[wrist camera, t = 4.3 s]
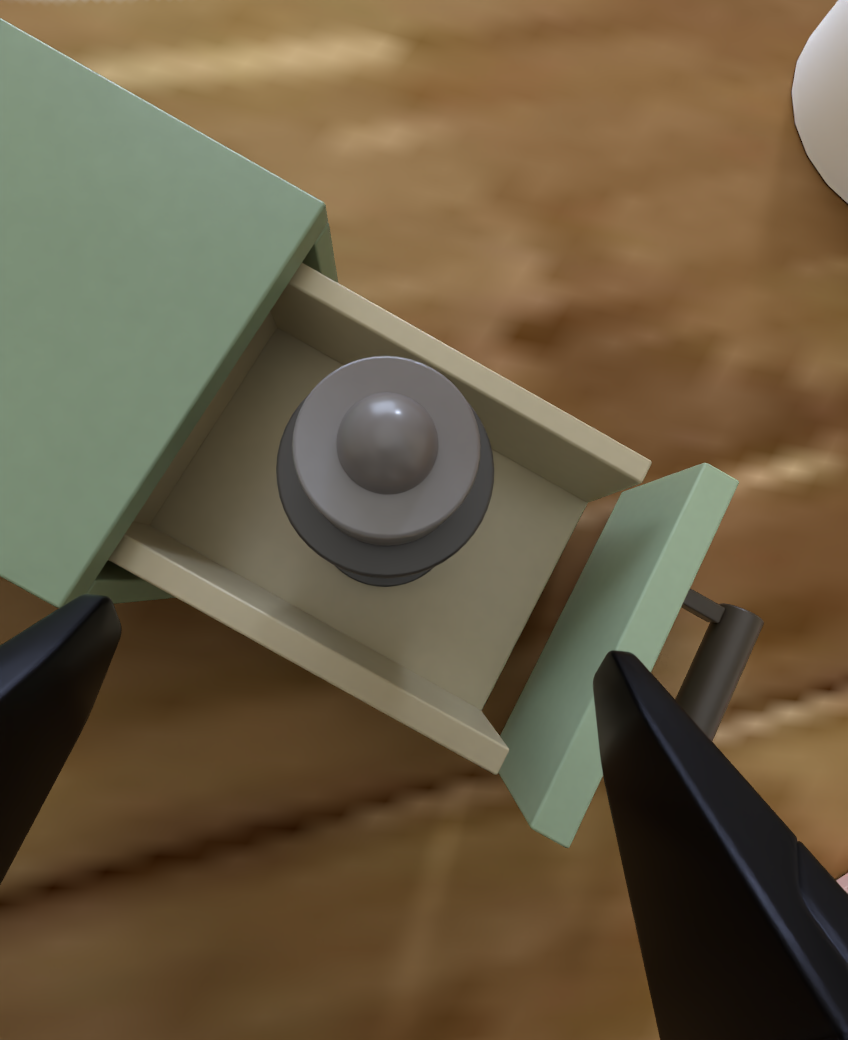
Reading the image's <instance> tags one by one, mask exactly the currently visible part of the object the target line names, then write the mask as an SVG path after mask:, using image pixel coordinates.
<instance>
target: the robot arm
mask: <svg viewBox="0 0 848 1040" xmlns="http://www.w3.org/2000/svg"><path fill="white" fill-rule="evenodd" d="M120 637H121V624H120V621H119V618H118V616H117V613H116V610H115V607H114V605H113V602H112V600H111V599H110V598H109V597H108V596H103V595H94V594H84V595H81V596H78V597H77V598H75V599H73V600H72V601H70V602H69V603H67V604H66V605H64V606H62V607H61V608H59V609H58V610H56V611H54V612H53V613H51V614H50V615H48V616H46V617H45V618H43V619H42V620H40V621H38V622H37V623H35V624H34V625H32V626H31V627H29V628H27V629H26V630H24V631H23V632H21V633H19V634H18V635H16V636H15V637H13V638H11V639H10V640H8V641H7V642H5V643H3V644H2V645H0V884H1V882H2V881H3V879H4V877H5V875H6V873H7V871H8V869H9V867H10V865H11V864H12V862H13V860H14V858H15V856H16V854H17V852H18V850H19V849H20V847H21V845H22V843H23V841H24V839H25V837H26V835H27V833H28V832H29V830H30V828H31V826H32V824H33V822H34V820H35V818H36V816H37V815H38V813H39V811H40V809H41V807H42V805H43V803H44V801H45V799H46V798H47V796H48V794H49V792H50V790H51V788H52V786H53V784H54V783H55V781H56V779H57V777H58V775H59V773H60V771H61V769H62V767H63V766H64V764H65V762H66V760H67V758H68V756H69V754H70V752H71V750H72V749H73V747H74V745H75V743H76V741H77V739H78V737H79V735H80V733H81V731H82V729H83V727H84V725H85V723H86V721H87V719H88V717H89V715H90V712H91V710H92V708H93V705H94V703H95V700H96V698H97V695H98V693H99V690H100V688H101V685H102V683H103V680H104V678H105V675H106V673H107V670H108V668H109V665H110V663H111V660H112V658H113V655H114V653H115V650H116V648H117V645H118V643H119V640H120ZM593 694H594V703H595V712H596V722H597V731H598V741H599V750H600V758H601V766H602V771H603V777H604V782H605V786H606V791H607V796H608V800H609V805H610V810H611V814H612V819H613V823H614V828H615V833H616V837H617V842H618V846H619V851H620V856H621V860H622V865H623V870H624V874H625V879H626V883H627V888H628V893H629V897H630V902H631V907H632V911H633V916H634V920H635V925H636V930H637V934H638V939H639V944H640V948H641V953H642V957H643V962H644V967H645V971H646V976H647V980H648V985H649V990H650V994H651V999H652V1004H653V1008H654V1013H655V1017H656V1022H657V1027H658V1031H659V1036H660V1040H848V893H847V892H846V891H845V890H844V889H843V888H842V887H841V886H840V885H839V883H838V882H837V881H836V880H835V879H834V878H833V877H832V876H831V875H830V874H829V873H828V871H827V870H826V869H825V868H824V867H823V866H822V865H821V864H820V863H819V861H818V860H817V859H816V858H815V857H814V856H813V855H812V854H811V852H810V851H809V850H808V849H807V848H806V847H805V846H804V845H803V843H801V842H800V841H797V837H796V836H795V835H794V834H793V832H792V831H791V830H790V829H789V828H788V827H787V826H786V824H785V823H784V822H783V821H782V820H781V819H780V818H779V817H778V815H777V814H776V813H775V812H774V811H773V810H772V809H771V808H770V806H769V805H768V804H767V803H766V802H765V801H764V800H763V799H762V797H761V796H760V795H759V794H758V793H757V792H756V791H755V790H754V788H753V787H752V786H751V785H750V784H749V783H748V782H747V780H746V779H745V778H744V777H743V776H742V775H741V774H740V773H739V771H738V770H737V769H736V768H735V767H734V766H733V765H732V764H731V762H730V761H729V760H728V759H727V758H726V757H725V756H724V755H723V753H722V752H721V751H720V750H719V749H718V748H717V747H716V746H715V744H714V743H713V742H712V741H711V740H710V739H709V738H708V737H707V735H706V734H705V733H704V732H703V731H702V730H701V729H700V727H699V726H698V725H697V724H696V723H695V722H694V721H693V720H692V718H691V717H690V716H689V715H688V714H687V713H686V712H685V711H684V709H683V708H682V707H681V706H680V705H679V704H678V703H677V702H676V700H675V699H674V698H673V697H672V696H671V695H670V694H669V693H668V691H667V690H666V689H665V688H664V687H663V686H662V685H661V683H660V682H659V681H658V680H657V679H656V678H655V677H654V676H653V674H652V673H651V672H650V671H649V670H648V669H647V668H646V667H645V665H644V664H643V663H642V662H641V661H640V660H639V659H638V658H637V656H635V655H634V654H633V653H631V652H627V651H617V650H611V651H609V652H608V653H607V654H606V656H605V658H604V659H603V661H602V663H601V665H600V666H599V668H598V670H597V671H596V673H595V675H594V678H593Z"/></svg>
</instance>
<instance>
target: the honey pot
mask: <svg viewBox="0 0 848 1040" xmlns="http://www.w3.org/2000/svg"><path fill="white" fill-rule="evenodd" d="M792 100H793V109H794V118H795V124H796V127H797V130H798V132H799V135H800V138H801V140H802V143H803V145H804V148H805V151H806V153H807V156H808V157H809V158H810V160H811V161H812V163H813V164H814V166H815V167H816V169H817V170H818V172H819V173H820V175H821V176H822V178H823V179H824V181H825V182H826V183H827V185H828V186H829V187H831V188H832V189H833V190H834V191H835V192H836V193H837V194H838V195H839V196H840V197H841V198H842V199H843V200H845V201H846V202H847V203H848V0H838V1H837V3H836V4H835V5H834V7H833V8H832V9H831V10H830V12H829V13H828V14H827V15H826V17H825V18H824V19H823V21H822V22H821V23H820V24H819V26H818V27H817V28H816V29H815V31H814V32H813V33H812V35H811V36H810V38H809V39H808V41H807V43H806V45H805V47H804V49H803V51H802V53H801V55H800V57H799V59H798V61H797V64H796V69H795V75H794V81H793V86H792Z"/></svg>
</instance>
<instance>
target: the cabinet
mask: <svg viewBox="0 0 848 1040" xmlns="http://www.w3.org/2000/svg"><path fill="white" fill-rule="evenodd" d="M301 263H303V264H305V265H307V266H309V267H311V268H312V269H314V270H316V271H318V272H319V273H321V274H323V275H325V276H326V277H328V278H330V279H332V280H333V281H335V282H337V283H338V279H337V272H336V266H335V260H334V253H333V247H332V240H331V234H330V227H329V224H328V218H327V211H326V205H325V204H324V203H323V202H322V201H320V200H319V199H317V198H315V197H313V196H312V195H310V194H308V193H306V192H305V191H303V190H301V189H299V188H298V187H296V186H294V185H292V184H291V183H289V182H287V181H285V180H284V179H282V178H280V177H278V176H277V175H275V174H273V173H271V172H269V171H268V170H266V169H264V168H262V167H261V166H259V165H257V164H255V163H254V162H252V161H250V160H248V159H247V158H245V157H243V156H241V155H240V154H238V153H236V152H234V151H233V150H231V149H229V148H227V147H226V146H224V145H222V144H220V143H219V142H217V141H215V140H213V139H212V138H210V137H208V136H206V135H205V134H203V133H201V132H199V131H198V130H196V129H194V128H192V127H191V126H189V125H187V124H185V123H184V122H182V121H180V120H178V119H176V118H175V117H173V116H171V115H169V114H168V113H166V112H164V111H162V110H161V109H159V108H157V107H155V106H154V105H152V104H150V103H148V102H147V101H145V100H143V99H141V98H140V97H138V96H136V95H134V94H133V93H131V92H129V91H127V90H126V89H124V88H122V87H120V86H119V85H117V84H115V83H113V82H112V81H110V80H108V79H106V78H105V77H103V76H101V75H99V74H98V73H96V72H94V71H92V70H91V69H89V68H87V67H85V66H84V65H82V64H80V63H78V62H76V61H75V60H73V59H71V58H69V57H68V56H66V55H64V54H62V53H61V52H59V51H57V50H55V49H54V48H52V47H50V46H48V45H47V44H45V43H43V42H41V41H40V40H38V39H36V38H34V37H33V36H31V35H29V34H27V33H26V32H24V31H22V30H20V29H19V28H17V27H15V26H13V25H12V24H10V23H8V22H6V21H5V20H3V19H1V18H0V576H1V577H3V578H4V579H6V580H8V581H10V582H12V583H13V584H15V585H17V586H19V587H21V588H22V589H24V590H26V591H28V592H30V593H31V594H33V595H35V596H37V597H39V598H41V599H42V600H44V601H46V602H48V603H50V604H51V605H53V606H55V607H57V608H61V607H62V606H64V605H66V604H67V603H69V602H70V601H72V600H73V599H75V598H77V597H78V596H81V595H84V594H94V595H103V596H108V597H109V598H110V599H111V600H112V602H113V604H115V603H125V602H136V601H146V600H157V599H167V598H176V597H174V596H172V595H170V594H169V593H167V592H165V591H163V590H161V589H160V588H158V587H156V586H154V585H152V584H151V583H149V582H147V581H145V580H143V579H142V578H140V577H138V576H136V575H134V574H133V573H131V572H129V571H127V570H125V569H124V568H122V567H120V566H118V565H116V564H115V563H113V562H111V561H109V560H108V559H109V558H110V556H111V554H112V553H113V551H114V550H115V548H116V547H117V545H118V544H119V542H120V541H121V539H122V538H123V536H124V535H125V533H126V531H127V530H128V528H129V527H130V525H131V524H132V522H133V521H134V519H135V518H136V516H137V515H138V513H139V512H140V510H141V508H142V507H143V505H144V504H145V502H146V501H147V499H148V498H149V496H150V495H151V493H152V492H153V490H154V489H155V487H156V485H157V484H158V482H159V481H160V479H161V478H162V476H163V475H164V473H165V472H166V470H167V469H168V467H169V466H170V464H171V462H172V461H173V459H174V458H175V456H176V455H177V453H178V452H179V450H180V449H181V447H182V446H183V444H184V443H185V441H186V439H187V438H188V436H189V435H190V433H191V432H192V430H193V429H194V427H195V426H196V424H197V423H198V421H199V420H200V418H201V416H202V415H203V413H204V412H205V410H206V409H207V407H208V406H209V404H210V403H211V401H212V400H213V398H214V397H215V395H216V393H217V392H218V390H219V389H220V387H221V386H222V384H223V383H224V381H225V380H226V378H227V377H228V375H229V374H230V372H231V370H232V369H233V367H234V366H235V364H236V363H237V361H238V360H239V358H240V357H241V355H242V354H243V352H244V351H245V349H246V347H247V346H248V344H249V343H250V341H251V340H252V338H253V337H254V335H255V334H256V332H257V331H258V329H259V328H260V326H261V324H262V323H263V321H264V320H265V318H266V317H267V315H268V314H269V312H270V311H271V309H272V308H273V306H274V305H275V303H276V301H277V300H278V298H279V297H280V295H281V294H282V292H283V291H284V289H285V288H286V286H287V285H288V283H289V282H290V280H291V278H292V277H293V275H294V274H295V272H296V271H297V269H298V268H299V266H300V265H301Z"/></svg>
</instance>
